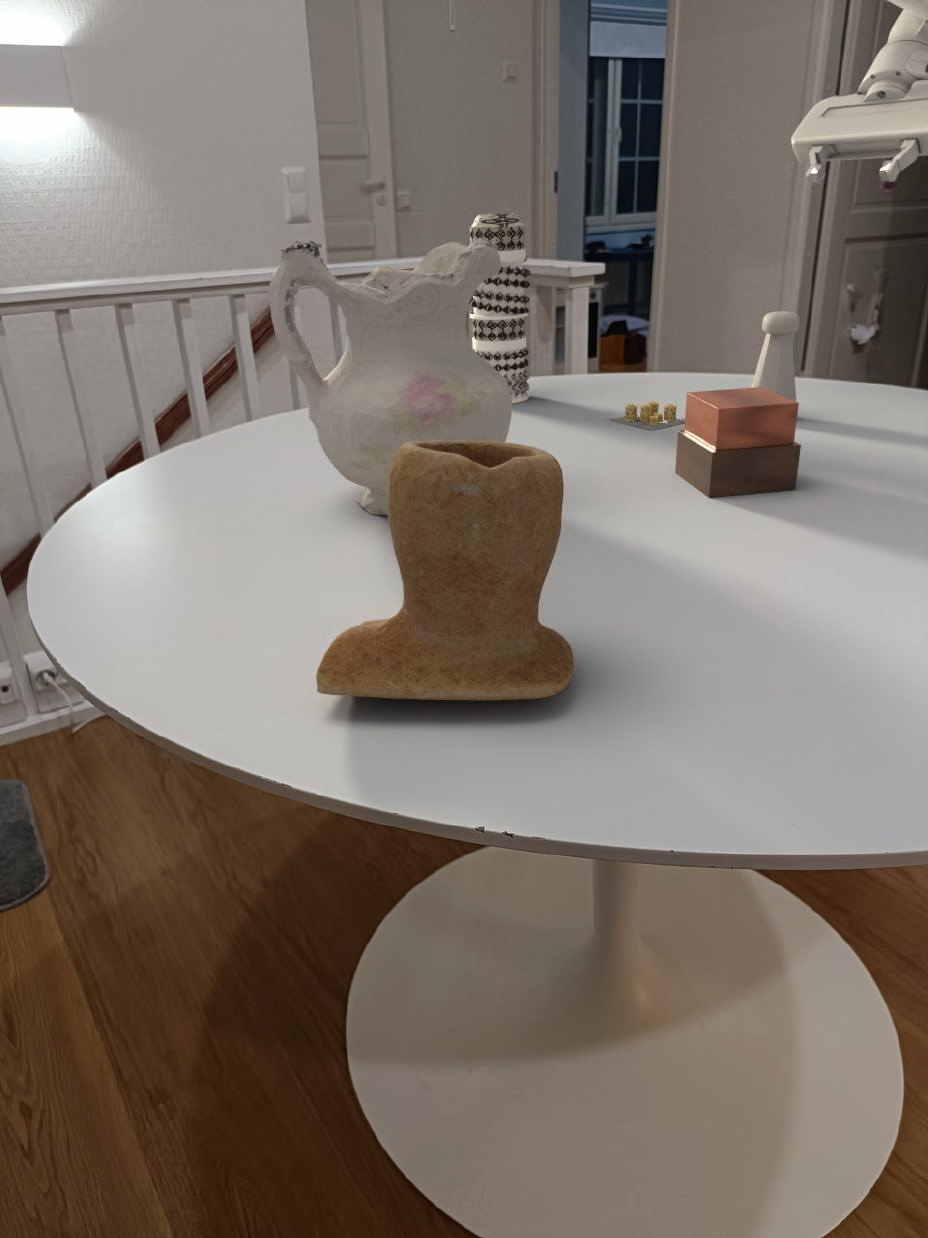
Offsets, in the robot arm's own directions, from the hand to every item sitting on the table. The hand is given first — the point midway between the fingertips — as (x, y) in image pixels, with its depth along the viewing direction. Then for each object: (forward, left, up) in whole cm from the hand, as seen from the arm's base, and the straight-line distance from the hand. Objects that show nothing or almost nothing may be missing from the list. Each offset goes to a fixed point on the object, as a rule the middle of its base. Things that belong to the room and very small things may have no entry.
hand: (847, 179), depth 109 cm
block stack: (+17, +36, -27) cm, 49 cm away
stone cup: (+41, +77, -27) cm, 92 cm away
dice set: (+23, +9, -27) cm, 37 cm away
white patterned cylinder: (+44, -6, -27) cm, 52 cm away
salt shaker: (+8, +9, -27) cm, 30 cm away
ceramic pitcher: (+50, +42, -27) cm, 71 cm away
